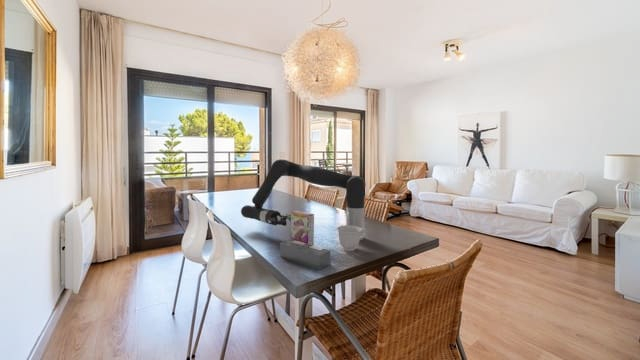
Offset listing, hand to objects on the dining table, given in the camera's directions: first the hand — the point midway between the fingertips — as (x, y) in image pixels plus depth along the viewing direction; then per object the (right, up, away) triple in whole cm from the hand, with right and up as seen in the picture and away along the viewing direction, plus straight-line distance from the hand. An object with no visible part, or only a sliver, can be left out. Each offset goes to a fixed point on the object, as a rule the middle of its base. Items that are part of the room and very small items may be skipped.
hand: (292, 222), depth 140 cm
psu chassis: (+7, -13, -21) cm, 26 cm away
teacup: (+29, -12, -6) cm, 32 cm away
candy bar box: (+5, -11, -3) cm, 13 cm away
